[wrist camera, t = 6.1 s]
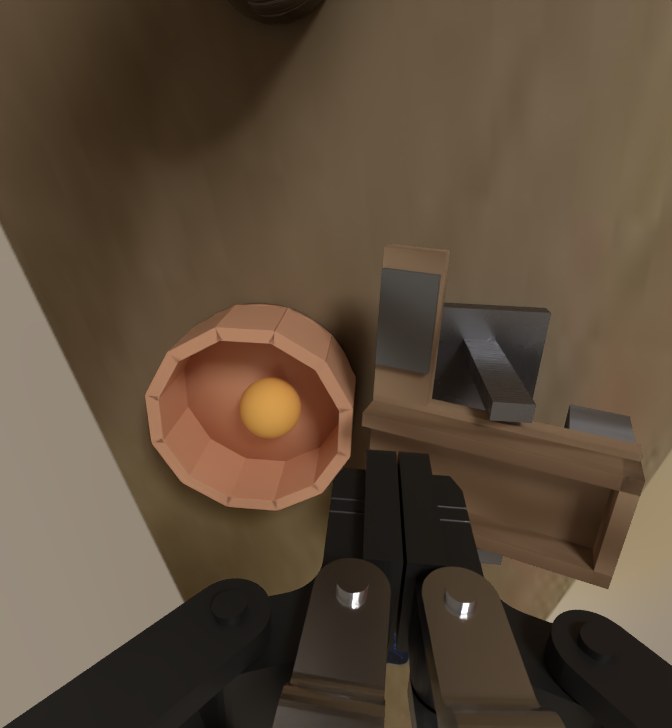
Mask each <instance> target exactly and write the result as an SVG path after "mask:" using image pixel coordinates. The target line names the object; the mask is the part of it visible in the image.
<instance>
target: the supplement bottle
mask: <svg viewBox="0 0 672 728" xmlns="http://www.w3.org/2000/svg"><path fill="white" fill-rule="evenodd" d="M228 1H229V2H230V3H231V4H232V5H233V6H234V7H235V8H236V9H237V10H239V11H240V12H241V13H243V14H244V15H246V16H248V17H249V18H251V19H254V20H256V21H259V22H262V23H266V24H274V25H276V24H286V23H290V22H294V21H296V20H299V19H301V18H303V17H304V16H306V15H307V14H309V13H310V12H311V11H313V10H314V9H315V8H316V7H317V6H318V5H319V4H320V3H321V2H322V0H228Z"/></svg>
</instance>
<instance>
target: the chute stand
mask: <svg viewBox="0 0 672 728" xmlns="http://www.w3.org/2000/svg"><path fill="white" fill-rule="evenodd" d="M550 315H551V313H550V312H549V311H548V310H547V309H546V308H531V307H513V306H495V305H476V304H458V303H444V306H443V314H442V322H441V330H440V338H439V345H438V353H437V361H436V369H435V377H434V385H433V393H432V399H435V400H440V401H444V402H449V403H453V404H458V405H462V406H467V407H472V408H476V409H481V410H485V411H486V413H487V415H488V417H489V420H493V421H508V422H523V423H532V420H533V416H534V411H535V407H536V404H535V402H534V401H533V394H534V389H535V385H536V380H537V376H538V371H539V366H540V362H541V357H542V352H543V348H544V343H545V339H546V334H547V329H548V325H549V320H550ZM476 548H477V547H476ZM477 552H478V556H479V560H480V563H486V564H498V565H501V561H502V555H499V554H496V553H493V552H489V551H486V550H483V549H480V548H477Z"/></svg>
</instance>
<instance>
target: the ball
mask: <svg viewBox="0 0 672 728" xmlns="http://www.w3.org/2000/svg"><path fill="white" fill-rule="evenodd" d="M300 413H301V402H300V398H299V395H298V393H297V392H296V390H295V389H294V388H293V386H291V385H290V384H289V383H288V382H286V381H284V380H282V379H279V378H274V377H267V378H262V379H259V380H257V381H255V382H253V383H252V384H251V385H250V386H249V387H248V388H247V389H246V390H245V392H244V393H243V395H242V398H241V401H240V415H241V419H242V421H243V423H244V425H245V426H246V427H247V429H248V430H249V431H251V432H252V433H253V434H255V435H257V436H259V437H263V438H277V437H281V436H283V435H285V434H287V433H288V432H289V431H291V430H292V429H293V428H294V426H295V425H296V424H297V422H298V420H299V417H300Z"/></svg>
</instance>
